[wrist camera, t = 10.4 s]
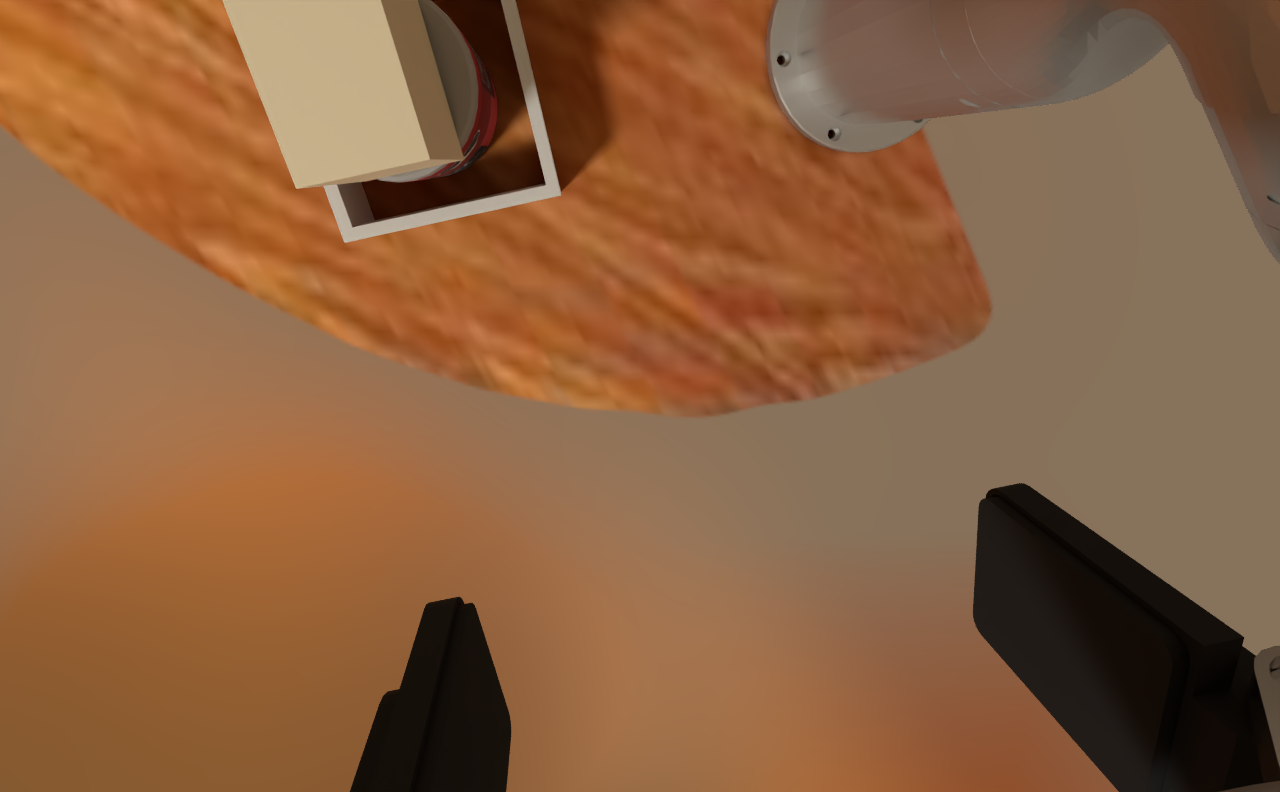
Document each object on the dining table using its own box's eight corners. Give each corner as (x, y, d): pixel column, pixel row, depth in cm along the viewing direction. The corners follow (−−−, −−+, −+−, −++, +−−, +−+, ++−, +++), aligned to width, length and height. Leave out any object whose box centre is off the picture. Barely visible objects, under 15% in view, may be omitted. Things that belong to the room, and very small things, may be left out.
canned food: (366, 167, 38) (295, 170, 28) (365, 18, 35) (284, -41, 25) (495, 185, 39) (472, 194, 29) (503, 42, 36) (481, -5, 26)
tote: (507, -36, 35) (500, -63, 31) (561, 191, 40) (561, 195, 35) (287, 8, 34) (249, -13, 30) (367, 233, 39) (344, 242, 35)
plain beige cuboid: (412, -19, 26) (352, -92, 18) (464, 159, 28) (430, 159, 21) (304, 4, 25) (198, -61, 18) (366, 181, 28) (296, 188, 21)
